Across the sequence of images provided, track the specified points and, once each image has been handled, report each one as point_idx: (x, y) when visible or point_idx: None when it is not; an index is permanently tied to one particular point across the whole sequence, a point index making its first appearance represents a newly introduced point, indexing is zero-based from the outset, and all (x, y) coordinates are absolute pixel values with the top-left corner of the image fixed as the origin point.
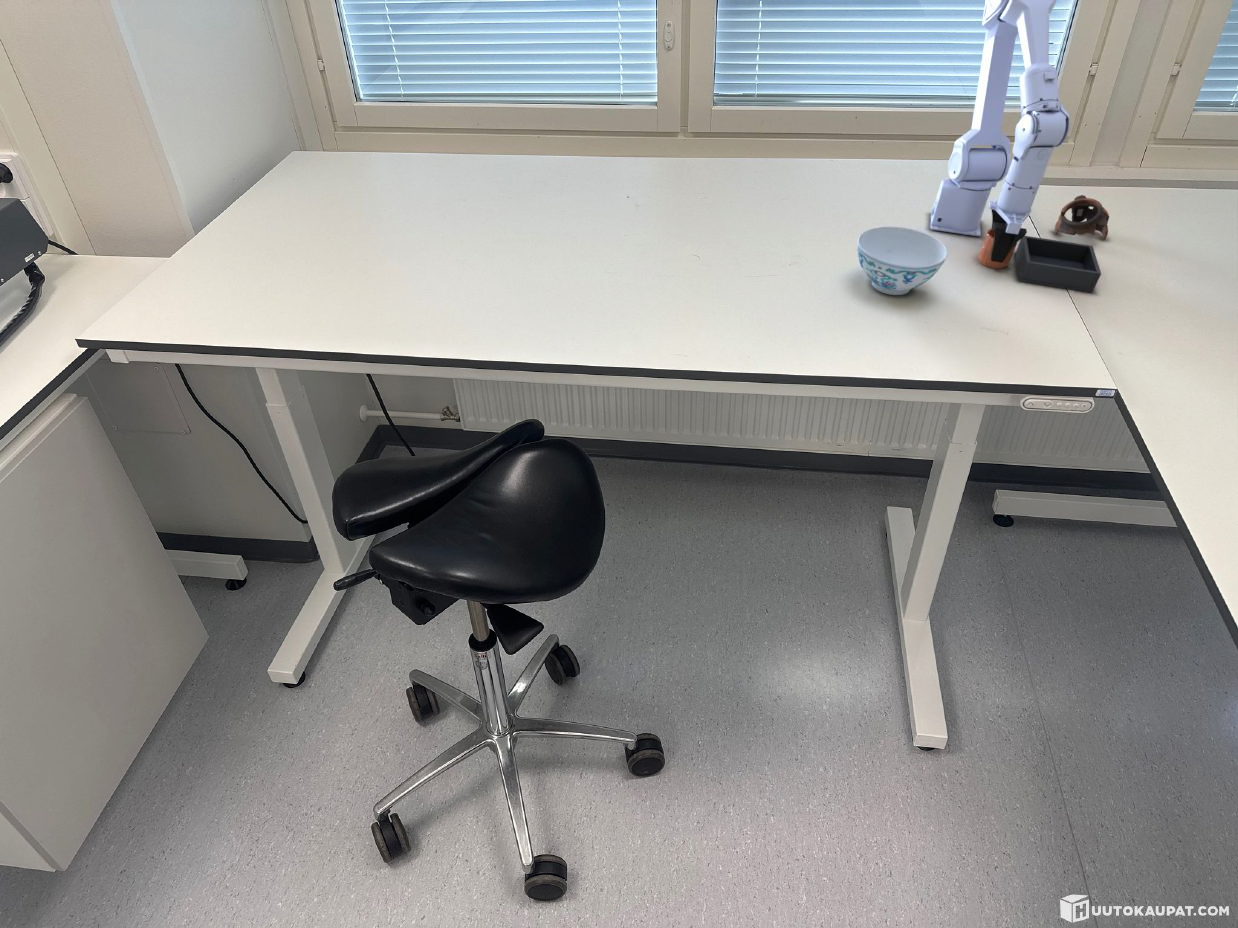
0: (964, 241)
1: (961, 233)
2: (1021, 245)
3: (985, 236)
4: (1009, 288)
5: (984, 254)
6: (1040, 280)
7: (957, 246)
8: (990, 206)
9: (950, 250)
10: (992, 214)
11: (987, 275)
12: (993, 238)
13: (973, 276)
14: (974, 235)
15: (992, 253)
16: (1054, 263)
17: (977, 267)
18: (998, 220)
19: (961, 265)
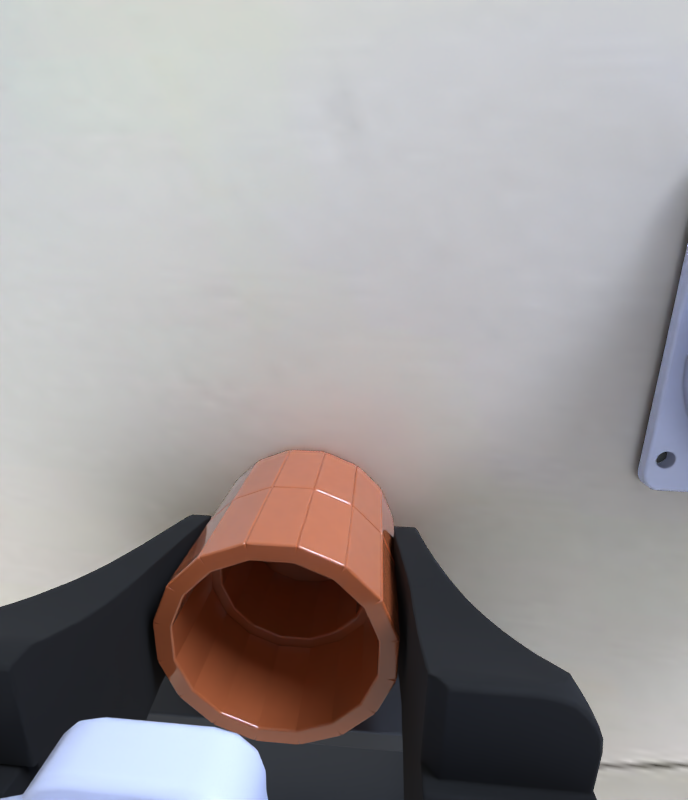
0: (558, 385)
1: (662, 370)
2: (384, 704)
3: (293, 521)
4: (55, 564)
5: (241, 486)
6: None
7: (467, 337)
8: (51, 766)
9: (392, 288)
10: (425, 661)
11: (143, 480)
12: (176, 579)
13: (96, 408)
14: (643, 451)
15: (159, 536)
16: (365, 780)
17: (216, 437)
18: (412, 678)
19: (203, 349)
